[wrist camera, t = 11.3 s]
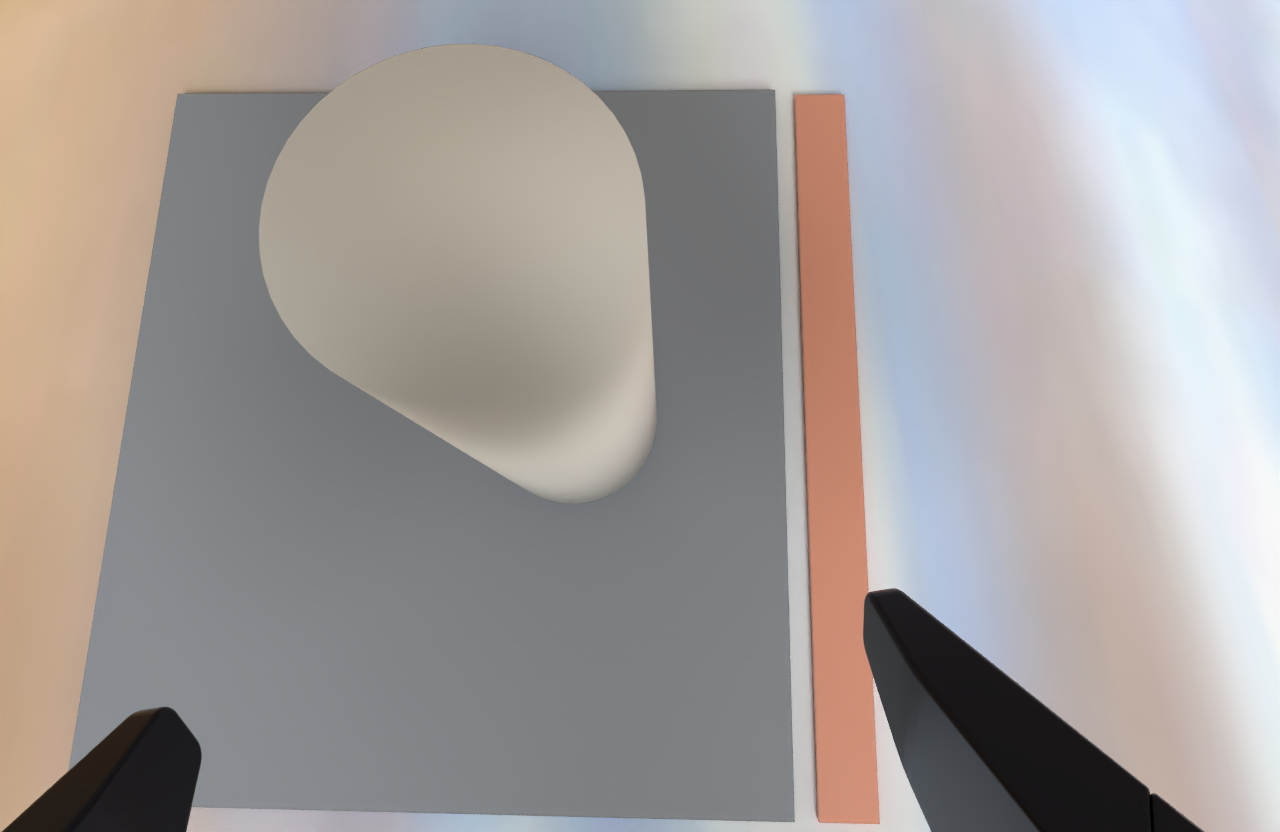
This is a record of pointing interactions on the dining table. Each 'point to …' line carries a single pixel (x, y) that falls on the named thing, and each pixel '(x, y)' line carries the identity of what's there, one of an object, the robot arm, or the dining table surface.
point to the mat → (454, 526)
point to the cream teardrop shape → (475, 261)
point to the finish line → (834, 470)
